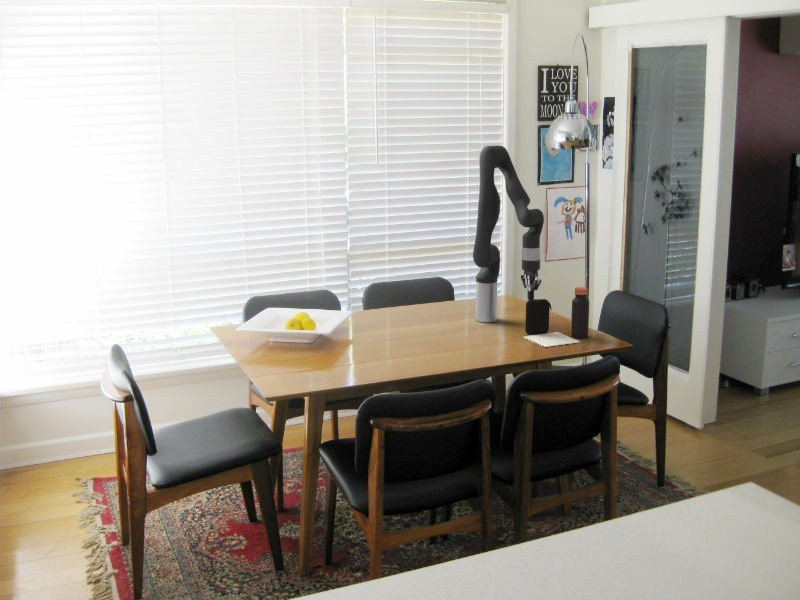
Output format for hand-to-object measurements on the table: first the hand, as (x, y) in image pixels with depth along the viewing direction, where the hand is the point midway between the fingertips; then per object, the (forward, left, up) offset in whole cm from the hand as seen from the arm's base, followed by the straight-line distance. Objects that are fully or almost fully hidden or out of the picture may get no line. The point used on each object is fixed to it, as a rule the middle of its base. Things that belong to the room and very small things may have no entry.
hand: (530, 299), depth 348 cm
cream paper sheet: (+17, 0, -13) cm, 21 cm away
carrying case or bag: (+7, 0, -13) cm, 15 cm away
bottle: (+17, +13, -13) cm, 25 cm away
